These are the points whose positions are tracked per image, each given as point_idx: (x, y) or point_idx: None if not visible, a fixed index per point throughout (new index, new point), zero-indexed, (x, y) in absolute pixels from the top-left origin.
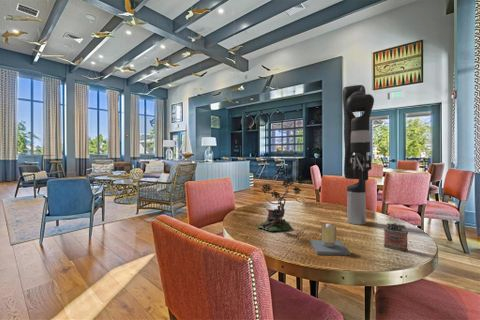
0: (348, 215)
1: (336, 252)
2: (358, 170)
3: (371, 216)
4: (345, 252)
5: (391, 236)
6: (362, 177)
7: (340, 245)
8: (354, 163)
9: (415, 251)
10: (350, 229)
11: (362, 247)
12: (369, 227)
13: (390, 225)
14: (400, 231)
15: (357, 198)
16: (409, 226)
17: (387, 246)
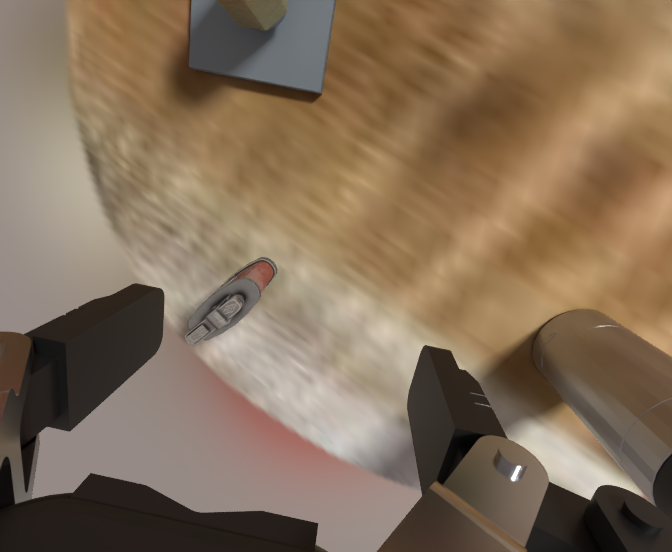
0: (610, 325)
1: (193, 3)
2: (426, 480)
3: None
4: (190, 45)
5: (228, 282)
6: (124, 293)
7: (260, 63)
8: (387, 543)
9: None
10: (486, 257)
11: (267, 171)
12: (488, 354)
13: (223, 303)
14: (202, 315)
15: (634, 420)
16: None
17: (253, 262)
